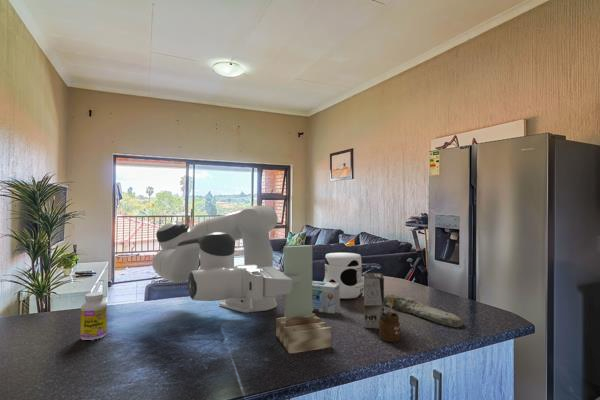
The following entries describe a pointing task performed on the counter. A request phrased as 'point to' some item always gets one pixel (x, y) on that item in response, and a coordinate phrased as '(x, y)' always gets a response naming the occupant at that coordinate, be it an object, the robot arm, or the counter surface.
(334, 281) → the spotted cookie jar
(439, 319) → the elongated rock
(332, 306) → the light bulb box
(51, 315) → the counter surface
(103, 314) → the supplement bottle
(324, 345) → the birch rack
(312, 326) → the oak offcut
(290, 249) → the tall panel
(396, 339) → the utensil holder
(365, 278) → the coffee box
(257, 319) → the counter surface
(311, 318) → the walnut offcut
